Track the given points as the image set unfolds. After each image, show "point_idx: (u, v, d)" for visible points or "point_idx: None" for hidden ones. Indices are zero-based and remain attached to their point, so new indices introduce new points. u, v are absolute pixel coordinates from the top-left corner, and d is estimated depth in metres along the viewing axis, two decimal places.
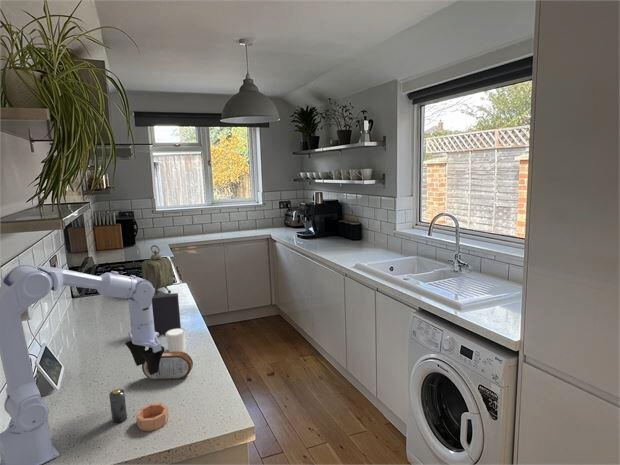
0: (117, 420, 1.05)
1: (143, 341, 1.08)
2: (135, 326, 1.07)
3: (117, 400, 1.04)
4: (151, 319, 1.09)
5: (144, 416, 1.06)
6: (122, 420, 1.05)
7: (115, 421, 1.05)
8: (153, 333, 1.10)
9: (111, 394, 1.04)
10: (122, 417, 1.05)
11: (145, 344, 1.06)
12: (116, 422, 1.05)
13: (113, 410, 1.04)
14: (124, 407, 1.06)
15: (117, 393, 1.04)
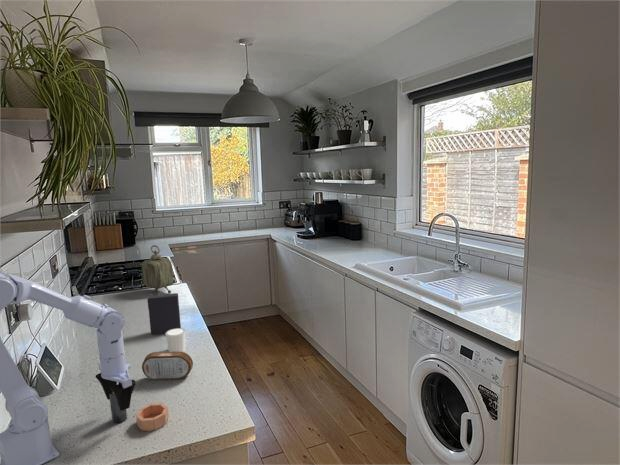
0: (117, 420, 1.05)
1: (113, 375, 1.01)
2: (103, 360, 1.01)
3: None
4: (121, 352, 1.02)
5: (144, 416, 1.06)
6: (122, 420, 1.05)
7: (115, 421, 1.05)
8: (124, 366, 1.04)
9: (111, 394, 1.04)
10: (122, 417, 1.05)
11: (114, 379, 1.00)
12: (116, 422, 1.05)
13: (113, 410, 1.04)
14: None
15: None
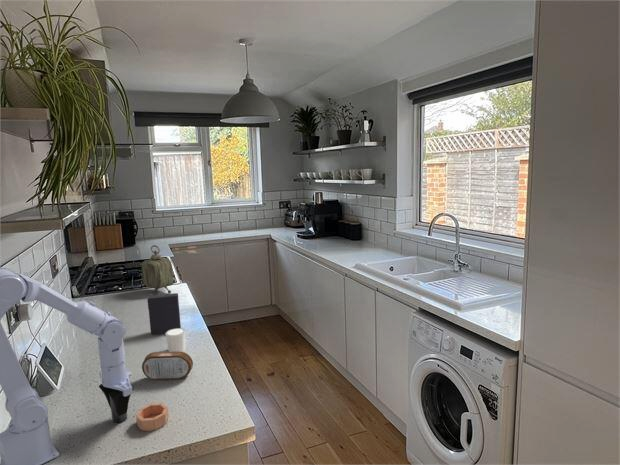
0: (117, 420, 1.05)
1: (113, 383, 1.02)
2: (104, 368, 1.01)
3: None
4: (122, 360, 1.03)
5: (144, 416, 1.06)
6: (122, 420, 1.05)
7: (115, 421, 1.05)
8: (125, 374, 1.04)
9: None
10: (122, 417, 1.05)
11: (115, 387, 1.00)
12: (116, 422, 1.05)
13: (113, 410, 1.04)
14: None
15: None
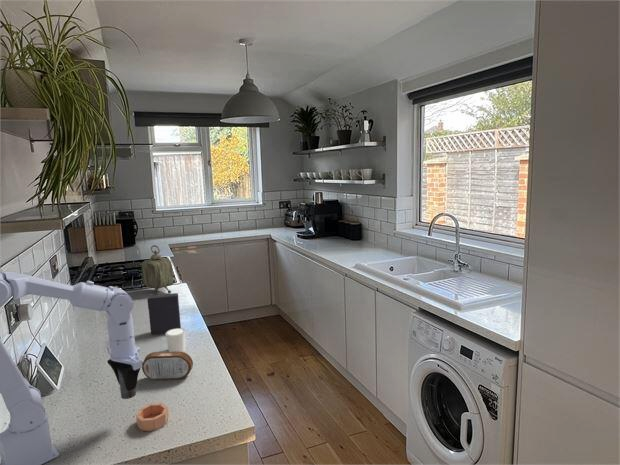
0: (126, 395, 1.03)
1: (123, 357, 1.00)
2: (113, 342, 0.99)
3: None
4: (130, 334, 1.01)
5: (144, 416, 1.06)
6: (131, 395, 1.04)
7: (124, 396, 1.03)
8: (134, 348, 1.02)
9: None
10: (131, 392, 1.03)
11: (124, 361, 0.99)
12: (125, 397, 1.03)
13: (122, 385, 1.02)
14: None
15: None
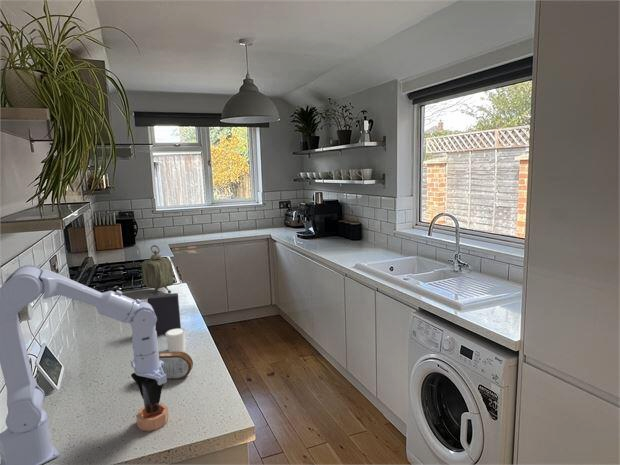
0: (150, 410, 1.02)
1: (147, 372, 0.99)
2: (138, 356, 0.99)
3: None
4: (153, 350, 1.00)
5: (144, 416, 1.06)
6: (155, 410, 1.03)
7: (148, 411, 1.02)
8: (158, 363, 1.02)
9: None
10: (155, 407, 1.03)
11: (149, 376, 0.98)
12: (149, 412, 1.02)
13: (146, 399, 1.02)
14: None
15: None
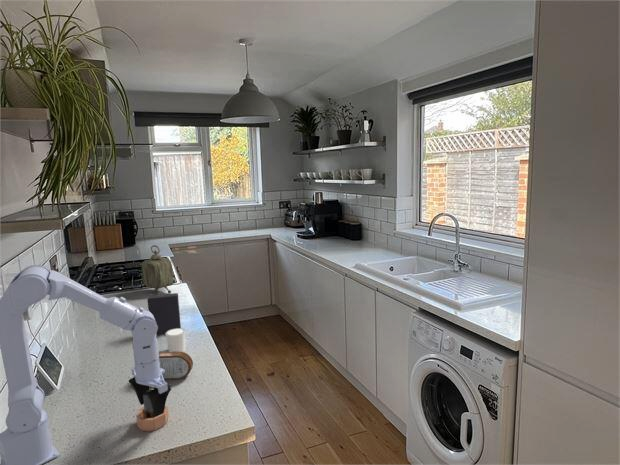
0: None
1: (148, 380, 1.00)
2: (139, 365, 0.99)
3: None
4: (153, 358, 1.00)
5: (144, 416, 1.06)
6: None
7: None
8: (158, 371, 1.02)
9: (145, 394, 1.03)
10: None
11: (150, 384, 0.99)
12: None
13: (147, 411, 1.03)
14: None
15: None
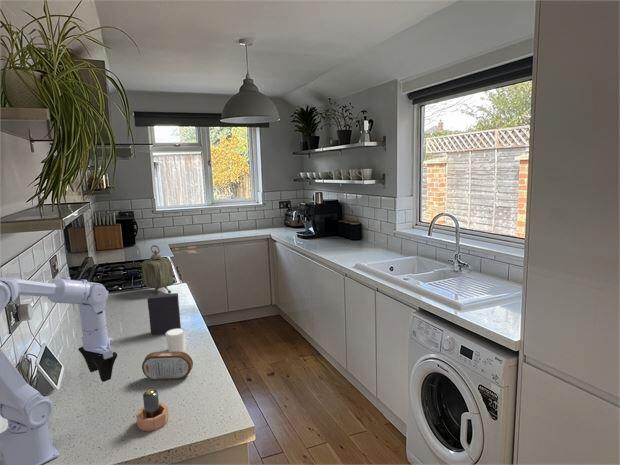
0: None
1: (94, 347, 1.04)
2: (85, 332, 1.03)
3: (151, 401, 1.02)
4: (105, 323, 1.06)
5: (144, 416, 1.06)
6: None
7: None
8: (106, 339, 1.06)
9: (145, 395, 1.03)
10: None
11: (96, 350, 1.03)
12: None
13: (147, 411, 1.02)
14: (157, 408, 1.04)
15: (151, 394, 1.03)
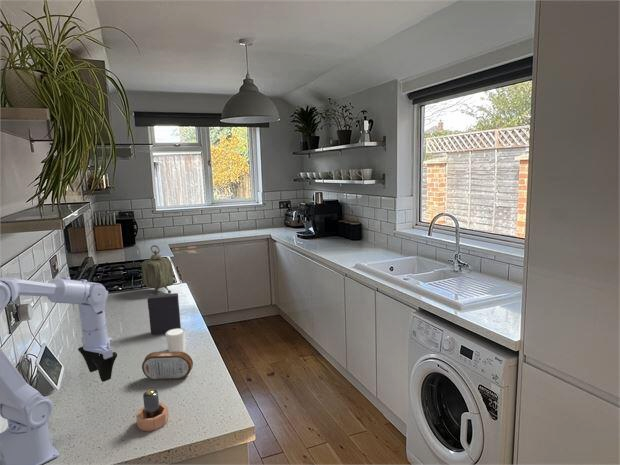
0: None
1: (94, 347, 1.04)
2: (85, 332, 1.03)
3: (151, 401, 1.02)
4: (105, 323, 1.06)
5: (144, 416, 1.06)
6: None
7: None
8: (105, 339, 1.06)
9: (145, 395, 1.03)
10: None
11: (96, 350, 1.03)
12: None
13: (147, 411, 1.02)
14: (158, 408, 1.04)
15: (151, 394, 1.03)
